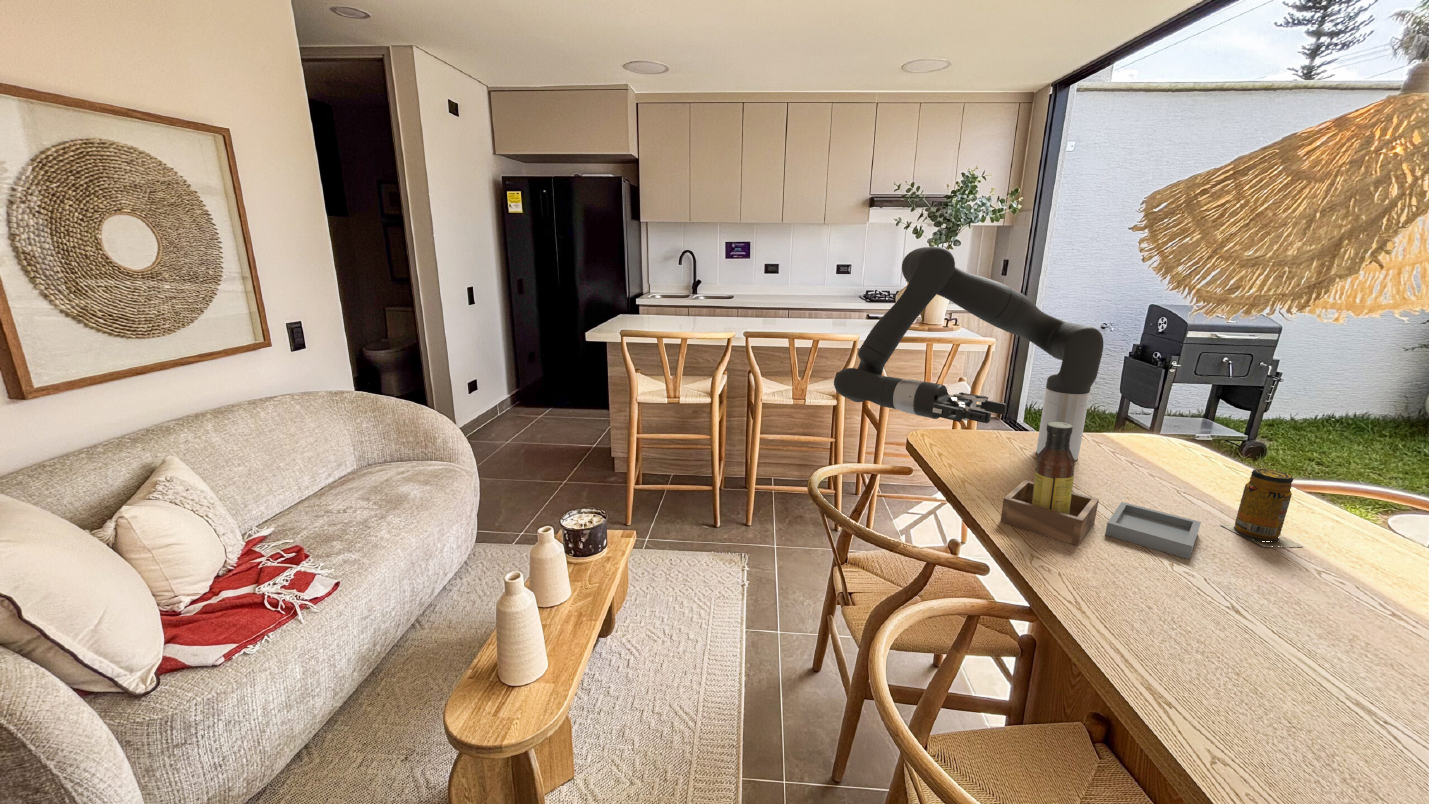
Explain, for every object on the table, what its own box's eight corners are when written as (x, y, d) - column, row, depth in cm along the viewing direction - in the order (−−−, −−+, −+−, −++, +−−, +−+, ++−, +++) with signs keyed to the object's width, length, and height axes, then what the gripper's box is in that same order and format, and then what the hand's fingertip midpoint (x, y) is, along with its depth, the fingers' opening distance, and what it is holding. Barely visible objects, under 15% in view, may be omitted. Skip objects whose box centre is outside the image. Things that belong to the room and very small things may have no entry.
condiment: (1256, 524, 104) (1272, 465, 101) (1303, 547, 96) (1323, 484, 93) (1218, 525, 104) (1234, 466, 101) (1263, 548, 96) (1281, 485, 93)
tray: (1119, 513, 109) (1121, 501, 109) (1197, 534, 101) (1200, 521, 100) (1105, 534, 101) (1107, 522, 101) (1189, 559, 93) (1192, 546, 92)
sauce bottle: (1067, 520, 107) (1084, 423, 101) (1066, 533, 102) (1084, 432, 96) (1029, 511, 110) (1044, 417, 105) (1026, 524, 105) (1041, 426, 100)
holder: (1021, 501, 115) (1024, 479, 113) (1094, 522, 106) (1098, 499, 104) (1000, 521, 107) (1003, 498, 105) (1077, 546, 98) (1082, 520, 96)
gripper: (906, 386, 114) (987, 401, 103) (936, 376, 123) (1013, 389, 112) (902, 421, 116) (981, 439, 105) (932, 408, 125) (1008, 424, 114)
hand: (998, 413), depth 108 cm, fingers open, 8 cm apart
